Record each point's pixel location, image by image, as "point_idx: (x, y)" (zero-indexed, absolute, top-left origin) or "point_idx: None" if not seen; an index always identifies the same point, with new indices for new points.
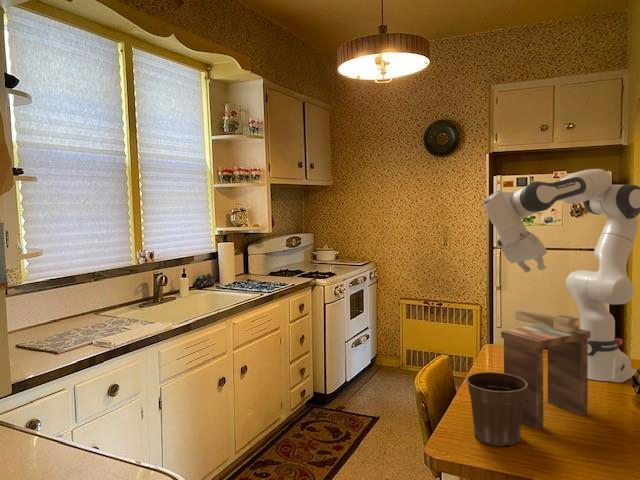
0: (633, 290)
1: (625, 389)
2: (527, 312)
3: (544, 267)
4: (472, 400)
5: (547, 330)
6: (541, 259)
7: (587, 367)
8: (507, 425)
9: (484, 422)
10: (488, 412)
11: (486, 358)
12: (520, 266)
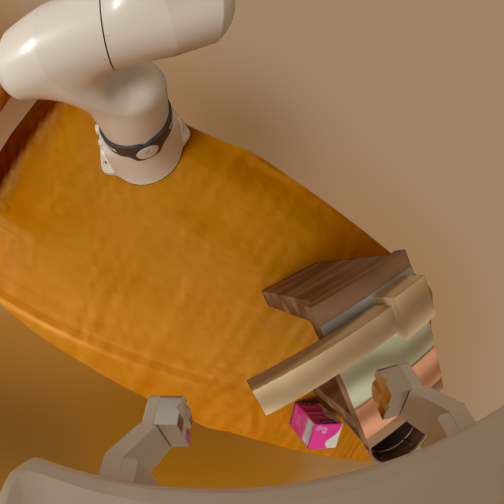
0: None
1: (219, 145)
2: (302, 385)
3: (407, 370)
4: (387, 446)
5: (390, 351)
6: (454, 411)
7: (352, 259)
8: None
9: None
10: (402, 427)
11: (33, 320)
12: (148, 464)
